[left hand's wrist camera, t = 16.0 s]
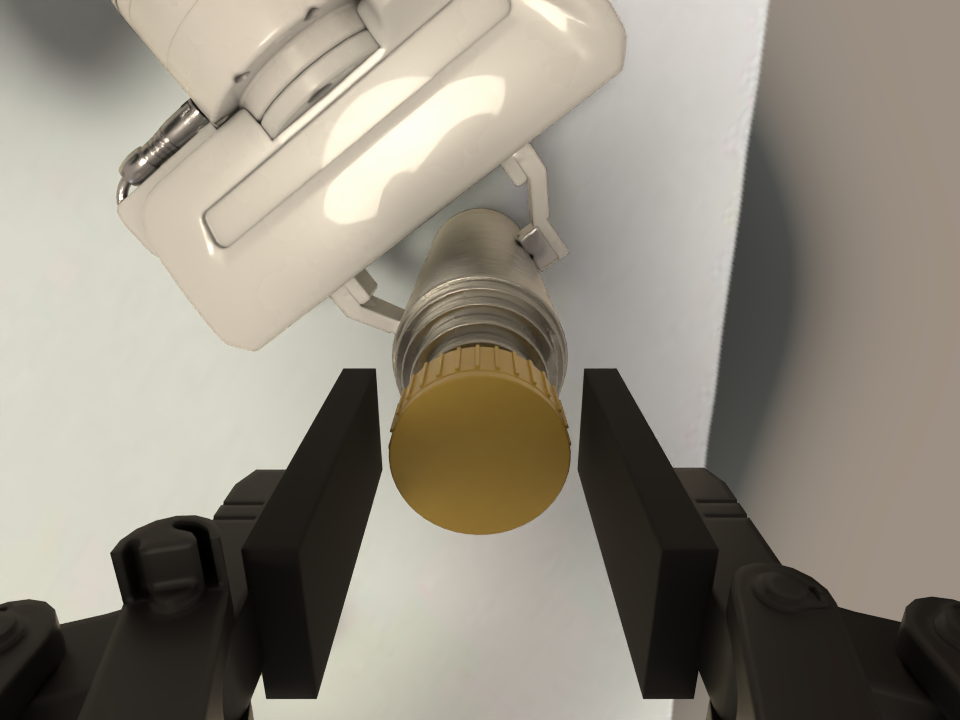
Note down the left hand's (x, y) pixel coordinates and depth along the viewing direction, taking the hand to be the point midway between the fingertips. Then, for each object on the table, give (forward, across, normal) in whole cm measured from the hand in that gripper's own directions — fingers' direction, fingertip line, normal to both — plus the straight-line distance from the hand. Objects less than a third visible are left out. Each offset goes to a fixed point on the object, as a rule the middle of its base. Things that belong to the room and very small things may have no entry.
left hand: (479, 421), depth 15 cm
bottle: (+20, 0, 0) cm, 20 cm away
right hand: (+13, -1, +1) cm, 13 cm away
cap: (-1, 0, 0) cm, 1 cm away
